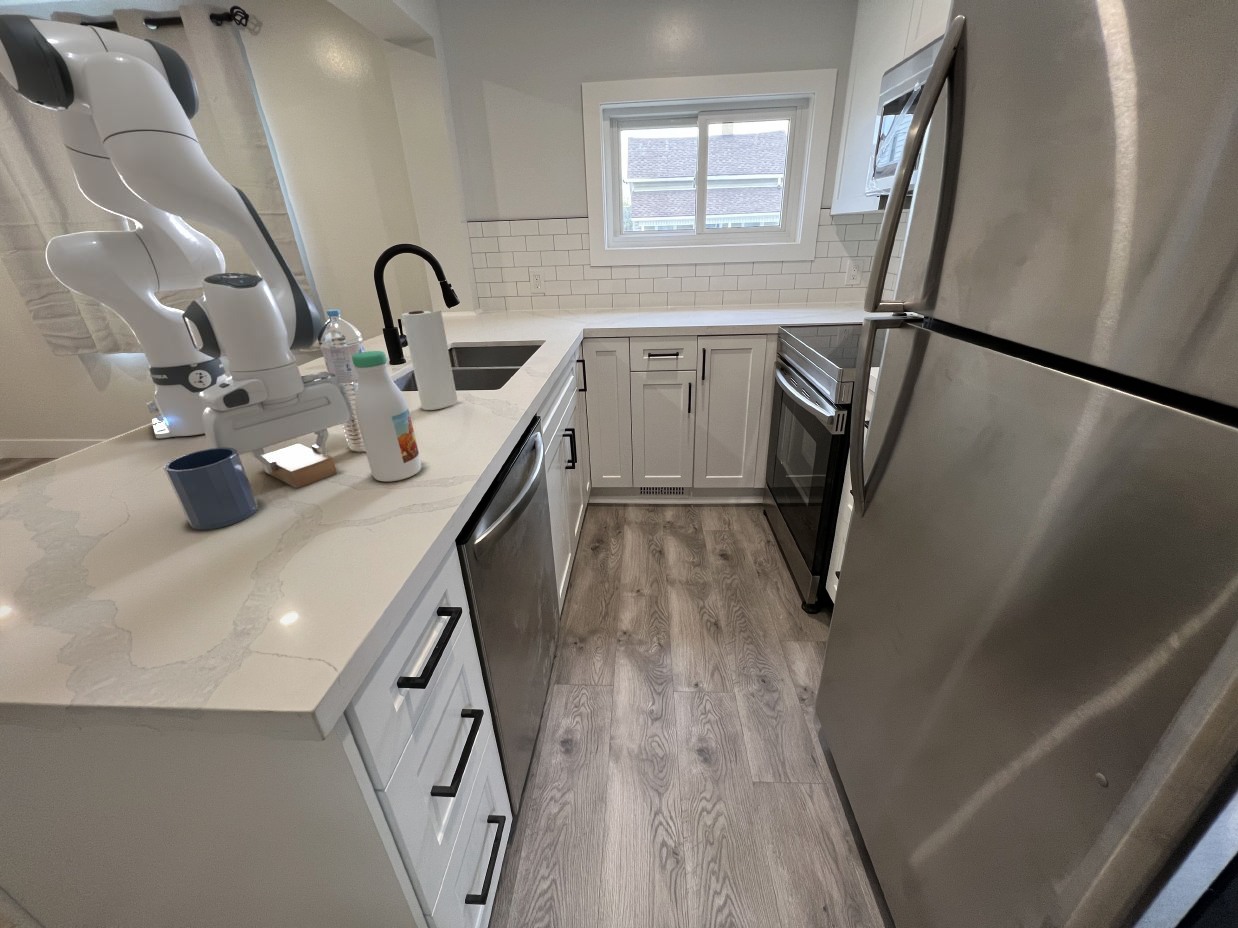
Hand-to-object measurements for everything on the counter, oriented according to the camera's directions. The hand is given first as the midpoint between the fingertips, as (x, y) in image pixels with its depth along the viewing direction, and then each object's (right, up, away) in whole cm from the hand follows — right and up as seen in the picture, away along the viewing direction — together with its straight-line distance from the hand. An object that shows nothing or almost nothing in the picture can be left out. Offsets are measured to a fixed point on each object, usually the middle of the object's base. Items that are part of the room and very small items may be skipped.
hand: (297, 463), depth 84 cm
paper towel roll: (+12, +13, +32) cm, 36 cm away
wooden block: (0, -2, +1) cm, 2 cm away
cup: (-3, -8, -12) cm, 14 cm away
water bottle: (+7, +3, +11) cm, 13 cm away
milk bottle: (+17, -2, -1) cm, 18 cm away
